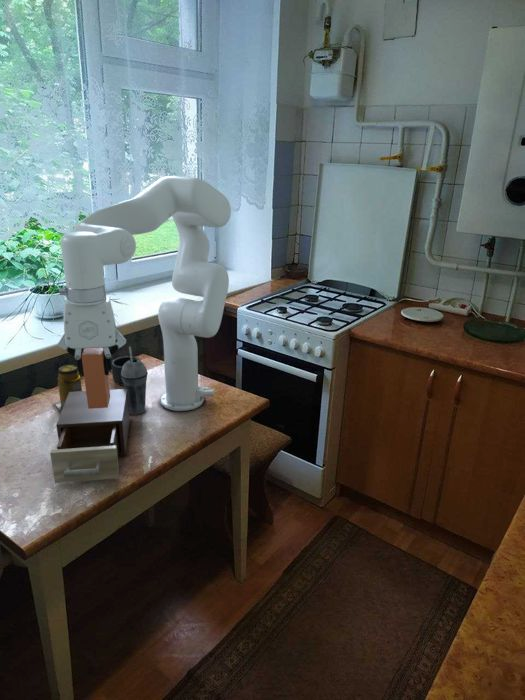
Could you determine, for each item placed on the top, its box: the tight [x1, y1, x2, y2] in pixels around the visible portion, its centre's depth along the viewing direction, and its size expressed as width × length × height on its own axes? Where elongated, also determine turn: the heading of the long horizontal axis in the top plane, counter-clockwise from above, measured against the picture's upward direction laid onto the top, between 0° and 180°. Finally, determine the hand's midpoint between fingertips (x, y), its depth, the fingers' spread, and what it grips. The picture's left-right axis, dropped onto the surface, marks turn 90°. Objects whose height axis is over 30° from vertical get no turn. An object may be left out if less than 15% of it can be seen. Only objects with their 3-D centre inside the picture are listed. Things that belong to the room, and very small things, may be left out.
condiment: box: [55, 364, 83, 412], centre depth 139 cm, size 7×8×12 cm
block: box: [81, 348, 111, 409], centre depth 110 cm, size 4×5×13 cm
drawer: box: [49, 424, 120, 484], centre depth 113 cm, size 20×14×8 cm
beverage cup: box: [121, 346, 148, 415], centre depth 137 cm, size 7×7×20 cm
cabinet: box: [55, 388, 131, 457], centre depth 125 cm, size 17×15×10 cm
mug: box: [109, 355, 142, 386], centre depth 157 cm, size 12×9×7 cm
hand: (96, 372), depth 109 cm, fingers closed on block, 4 cm apart
